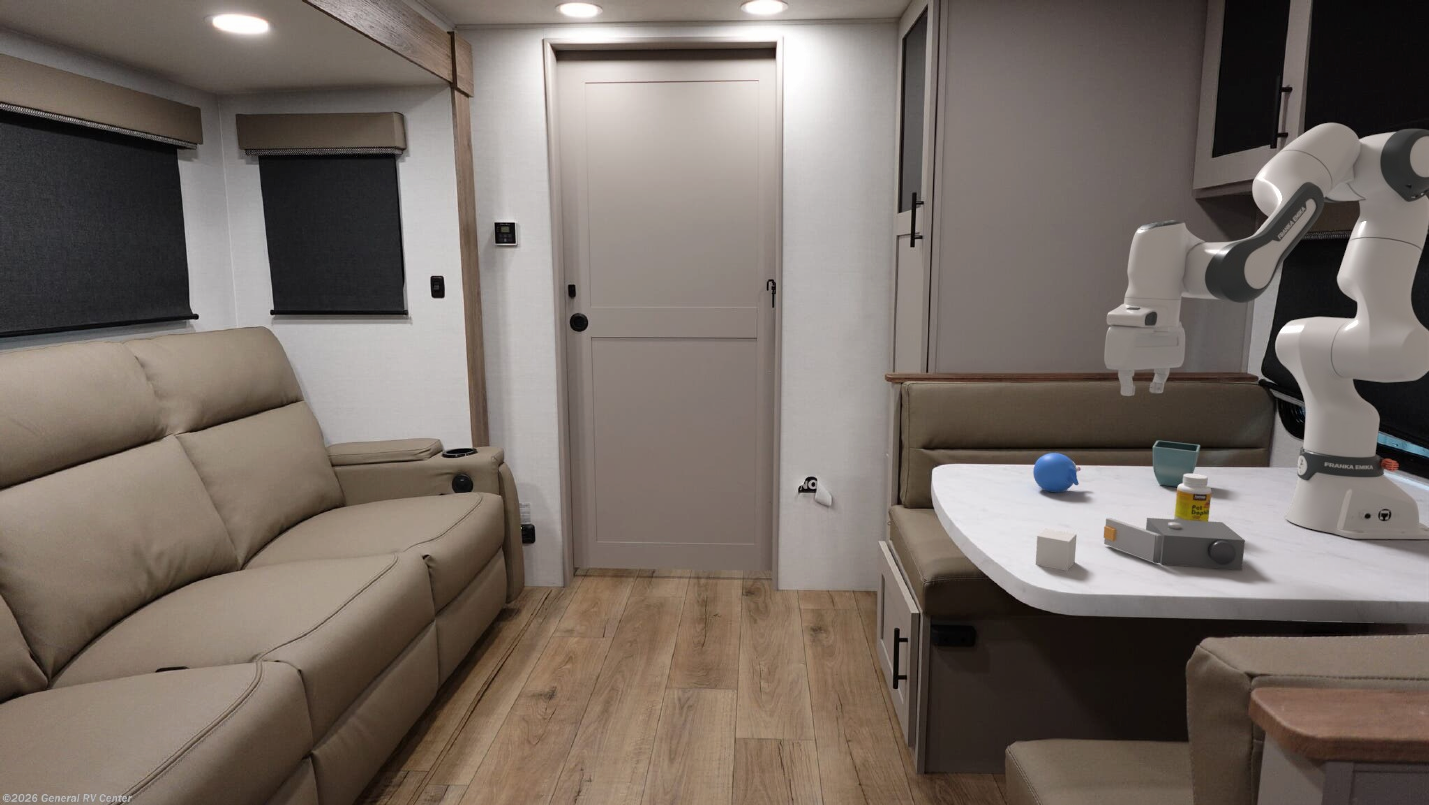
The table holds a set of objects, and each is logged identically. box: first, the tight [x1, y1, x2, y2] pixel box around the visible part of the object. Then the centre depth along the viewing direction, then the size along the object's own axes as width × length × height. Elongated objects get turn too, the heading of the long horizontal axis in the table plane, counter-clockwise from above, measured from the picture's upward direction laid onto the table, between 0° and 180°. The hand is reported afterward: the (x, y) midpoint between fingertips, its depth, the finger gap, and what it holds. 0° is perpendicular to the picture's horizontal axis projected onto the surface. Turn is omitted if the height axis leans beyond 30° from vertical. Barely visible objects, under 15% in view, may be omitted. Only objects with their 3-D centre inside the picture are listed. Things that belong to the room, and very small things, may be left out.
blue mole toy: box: [1032, 452, 1082, 493], centre depth 187 cm, size 12×12×8 cm
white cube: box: [1035, 528, 1078, 571], centre depth 142 cm, size 5×5×5 cm
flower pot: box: [1152, 440, 1201, 488], centre depth 193 cm, size 9×9×9 cm
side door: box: [1103, 517, 1162, 564], centre depth 146 cm, size 2×11×5 cm, turn 23°
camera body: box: [1145, 517, 1246, 571], centre depth 144 cm, size 12×12×6 cm
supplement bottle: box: [1173, 473, 1212, 521], centre depth 160 cm, size 6×6×10 cm
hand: (1141, 394), depth 152 cm, fingers open, 8 cm apart
